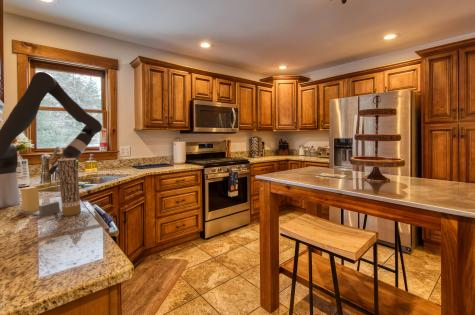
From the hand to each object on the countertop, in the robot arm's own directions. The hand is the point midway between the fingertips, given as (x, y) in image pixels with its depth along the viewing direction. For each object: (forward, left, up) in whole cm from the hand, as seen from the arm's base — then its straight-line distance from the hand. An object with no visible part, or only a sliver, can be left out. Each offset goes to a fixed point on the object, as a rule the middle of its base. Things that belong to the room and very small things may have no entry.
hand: (54, 173), depth 124 cm
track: (+6, -11, -16) cm, 21 cm away
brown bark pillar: (+23, -7, -17) cm, 29 cm away
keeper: (0, -11, -16) cm, 19 cm away
